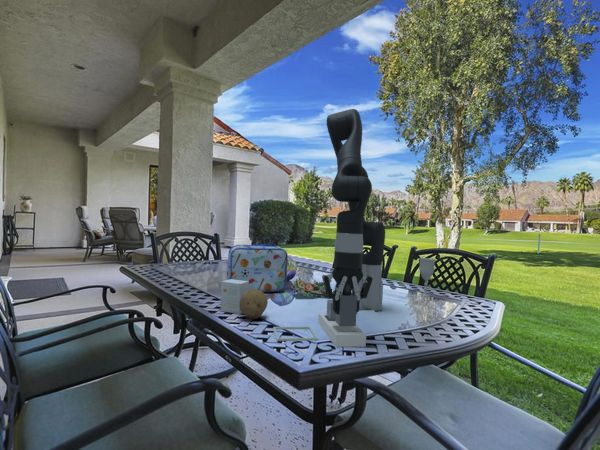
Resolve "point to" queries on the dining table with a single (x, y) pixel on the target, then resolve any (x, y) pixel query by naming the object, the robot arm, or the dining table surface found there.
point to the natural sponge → (253, 303)
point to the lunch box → (258, 266)
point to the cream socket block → (342, 333)
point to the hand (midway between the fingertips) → (345, 313)
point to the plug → (347, 308)
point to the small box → (232, 295)
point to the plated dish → (309, 290)
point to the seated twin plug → (330, 310)
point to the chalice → (426, 272)
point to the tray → (295, 338)
